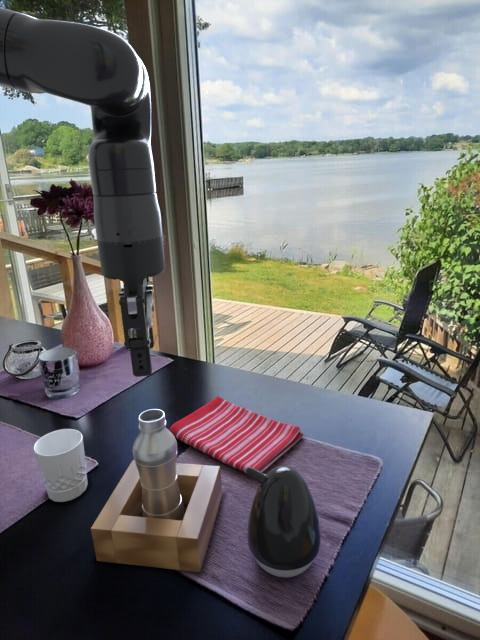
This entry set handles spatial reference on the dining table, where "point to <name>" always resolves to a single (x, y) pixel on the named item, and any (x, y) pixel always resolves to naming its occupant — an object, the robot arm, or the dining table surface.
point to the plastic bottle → (157, 467)
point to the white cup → (62, 464)
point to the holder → (159, 522)
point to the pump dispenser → (283, 522)
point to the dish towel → (236, 435)
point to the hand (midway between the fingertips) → (144, 360)
